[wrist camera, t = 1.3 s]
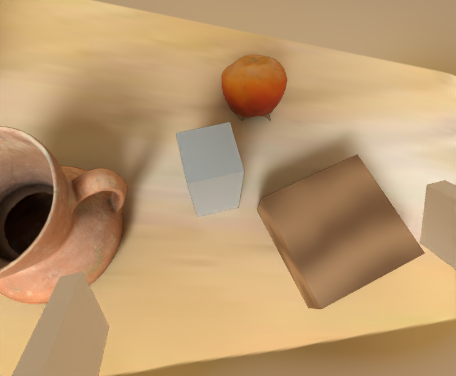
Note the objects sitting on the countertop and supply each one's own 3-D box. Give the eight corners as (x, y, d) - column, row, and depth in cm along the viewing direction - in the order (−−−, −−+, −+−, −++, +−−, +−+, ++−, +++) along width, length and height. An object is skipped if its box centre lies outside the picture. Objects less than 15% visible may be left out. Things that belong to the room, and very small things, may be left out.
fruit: (231, 138, 38) (225, 73, 33) (221, 111, 44) (215, 53, 39) (293, 128, 39) (297, 63, 34) (275, 103, 45) (276, 45, 40)
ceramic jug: (-7, 327, 32) (-174, 347, 18) (-15, 200, 36) (-153, 143, 23) (162, 270, 34) (122, 252, 21) (134, 158, 39) (86, 83, 25)
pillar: (197, 217, 36) (186, 183, 26) (189, 178, 38) (175, 133, 27) (238, 207, 36) (244, 170, 26) (228, 169, 38) (229, 121, 28)
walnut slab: (256, 211, 37) (261, 198, 32) (341, 172, 39) (357, 154, 34) (307, 307, 33) (321, 309, 28) (397, 259, 35) (424, 253, 30)
